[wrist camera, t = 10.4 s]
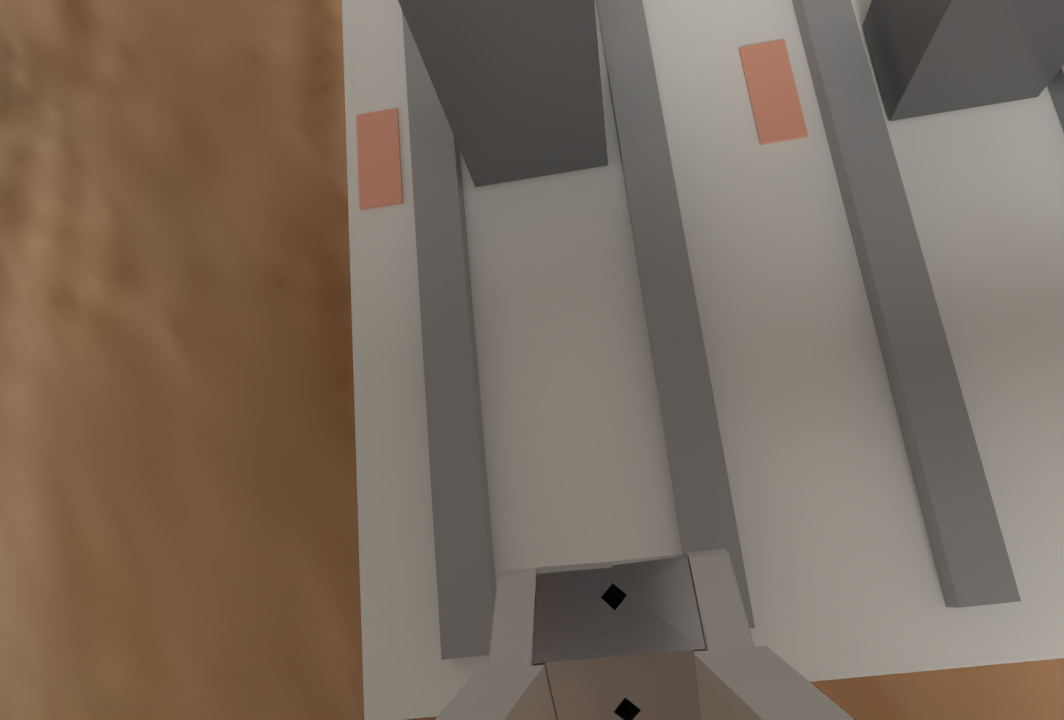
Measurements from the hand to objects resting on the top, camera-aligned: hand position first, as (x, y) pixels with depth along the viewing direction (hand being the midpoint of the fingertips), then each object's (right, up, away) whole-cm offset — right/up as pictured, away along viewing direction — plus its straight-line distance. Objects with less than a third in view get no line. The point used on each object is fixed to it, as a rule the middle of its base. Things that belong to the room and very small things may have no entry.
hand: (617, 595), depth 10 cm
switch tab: (-1, +8, +7) cm, 11 cm away
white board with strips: (+4, +5, +8) cm, 10 cm away
